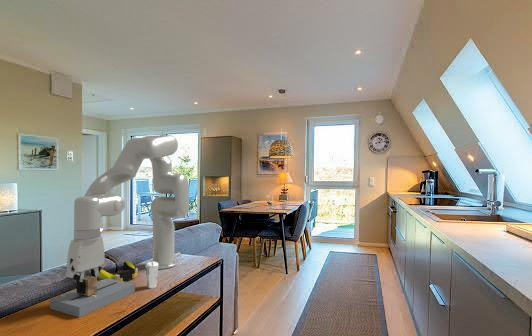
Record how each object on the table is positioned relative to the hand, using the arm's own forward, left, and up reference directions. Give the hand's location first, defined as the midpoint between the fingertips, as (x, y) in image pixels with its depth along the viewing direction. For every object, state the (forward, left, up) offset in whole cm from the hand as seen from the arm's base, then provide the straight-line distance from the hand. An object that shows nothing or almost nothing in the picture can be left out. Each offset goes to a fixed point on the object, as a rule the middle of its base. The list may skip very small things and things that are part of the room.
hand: (86, 290), depth 95 cm
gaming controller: (-20, -9, -5) cm, 22 cm away
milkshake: (-19, +9, -4) cm, 21 cm away
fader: (0, 0, -1) cm, 1 cm away
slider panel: (-3, 0, -4) cm, 5 cm away
